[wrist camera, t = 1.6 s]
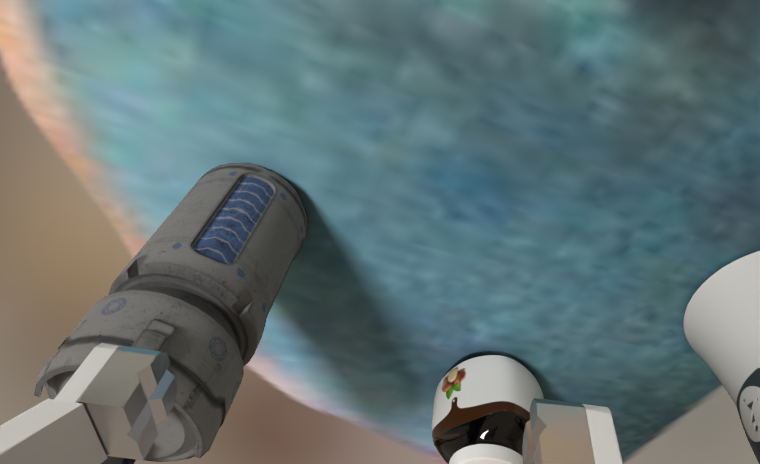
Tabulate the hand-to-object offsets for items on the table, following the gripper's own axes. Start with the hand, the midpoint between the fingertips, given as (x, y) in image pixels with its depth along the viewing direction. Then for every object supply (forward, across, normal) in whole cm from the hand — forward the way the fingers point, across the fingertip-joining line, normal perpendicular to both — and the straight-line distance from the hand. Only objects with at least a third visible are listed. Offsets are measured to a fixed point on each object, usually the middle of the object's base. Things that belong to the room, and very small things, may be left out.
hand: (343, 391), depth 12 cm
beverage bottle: (+31, +15, +17) cm, 39 cm away
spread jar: (+31, -8, +36) cm, 48 cm away
